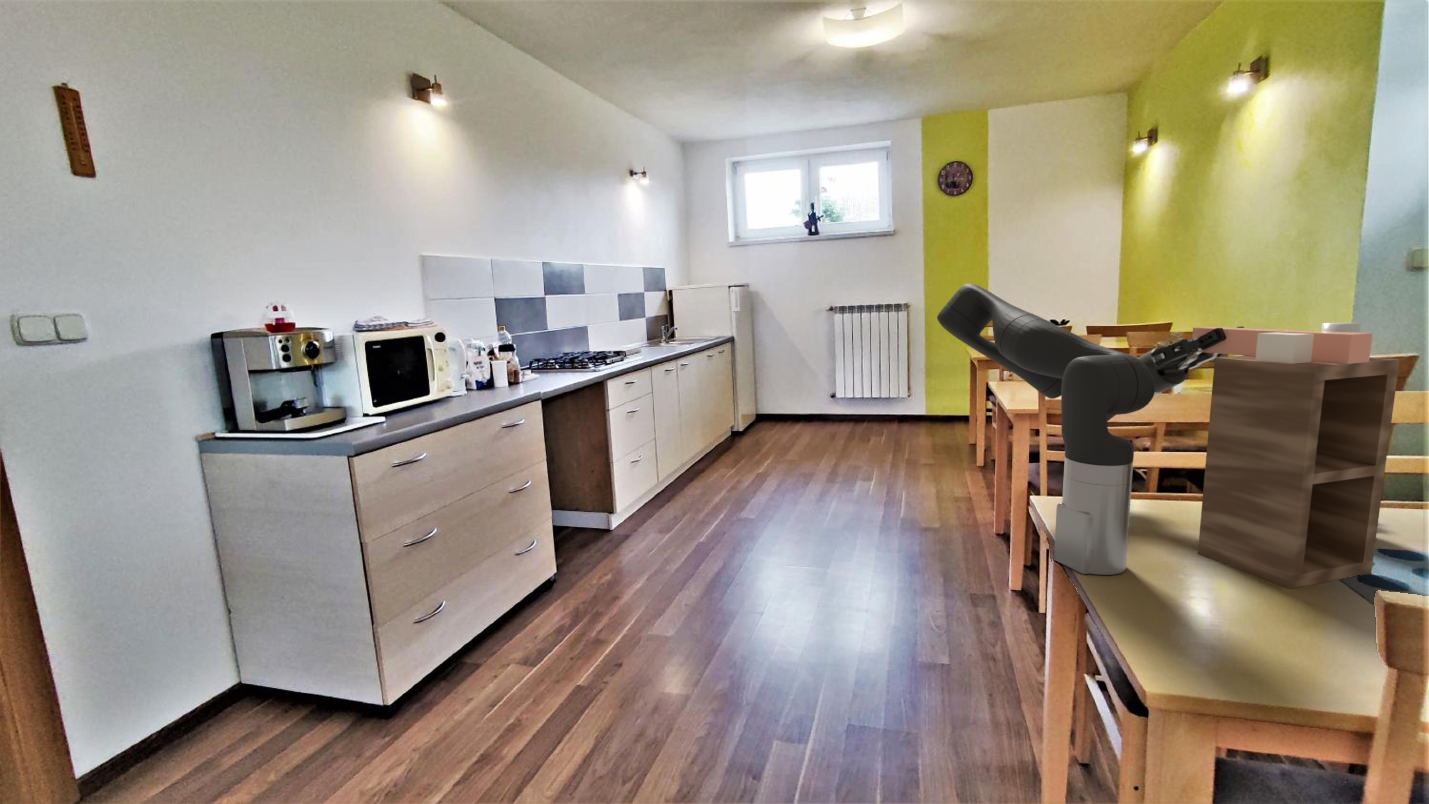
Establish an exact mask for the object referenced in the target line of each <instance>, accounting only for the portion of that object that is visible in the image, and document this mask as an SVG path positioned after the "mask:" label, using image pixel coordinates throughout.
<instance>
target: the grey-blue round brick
mask: <svg viewBox="0 0 1429 804" xmlns="http://www.w3.org/2000/svg"><path fill="white" fill-rule="evenodd" d="M1361 326H1362V323H1361V322H1322V323H1321V330H1320V331H1329V332H1354V333H1361Z"/></svg>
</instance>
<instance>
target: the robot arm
mask: <svg viewBox="0 0 1429 804" xmlns="http://www.w3.org/2000/svg"><path fill="white" fill-rule="evenodd" d="M936 317H937V318H936V319H937V321H938V323H939V324H940V326H941V327H942V328H943V329H944V330H945V331H946V332H948V333H949V334H950V335H952V336H953V337H955V338H956V339H958V340H959V341H960V342H962V343H964V344H965V345H966V346H969V347H970V348H971V349H973V350H975V351H976V352H978V353H980V354H981V355H983V356H984V357H986V358H988V359H989V360H991V361H993V362H995V363H996V364H997V365H999V366H1001V367H1004V368H1005V369H1007V370H1008V371H1010V372H1012V373H1013V374H1015V376H1017V377H1019V378H1020V379H1022V380H1023V381H1024V382H1026V383H1027V384H1029V386H1031V387H1032V388H1034V389H1035V390H1036V391H1037V392H1039V393H1040V394H1042V395H1043V396H1044V397H1046V398H1048V399H1053V400H1054V399H1058V398H1060V397H1061V398H1060V401H1061V403H1060V405H1061V407H1060V408H1061V436H1062V441H1063V444H1064V467H1063V483H1062V484H1063V485H1062V502H1059V503H1057V505H1056V513H1055V514H1056V515H1055V536H1054V552H1053V553H1054V554H1053V558H1054V559H1053V560H1054V561H1055V562H1058V563H1060V564H1062V565H1063V566H1066V567H1068V568H1070V569H1072V570H1074V571H1075V572H1077V573H1079V574H1081V575H1086V574H1091V575H1092V574H1093V575H1102V576H1103V575H1105V576H1109V575H1111V576H1112V575H1118V574H1121V573H1124V572H1125V571H1126V569H1127V555H1128V543H1129V542H1128V541H1129V526H1130V513H1131V512H1130V510H1131V498H1132V497H1131V496H1132V481H1133V468H1134V458H1135V457H1134V456H1135V447H1134V443H1132V442H1131V441H1130V440H1128V439H1126V438H1123V437H1121V436H1116V435H1114V434H1112V433H1111V432H1109V428H1108V422H1109V421H1111V419H1113V418H1114V417H1115V416H1119V415H1128V414H1131V413H1135V412H1139V411H1140V410H1142V409H1144V408H1145V407H1146V406H1148V405H1149V404H1150V403H1151V401H1152V400H1153V398H1154V397H1155V396H1156V395H1158V394H1161V393H1163V392H1165V391H1167V390H1169V389H1172V388H1174V387H1175V386H1178V385H1180V384H1182V383H1184V381H1185V380H1186V378H1187V377H1188V374H1189V370H1192V369H1195V368H1198V367H1200V366H1201V365H1202V364H1203V363H1206V362H1209V363H1210V364H1214V363H1215V358H1218V357H1227V356H1228V354H1219V353H1207V352H1203V351H1204V349H1208V348H1210V347H1212V346H1214V345H1216V344H1218V343H1220V342H1222V341H1224V340H1225V339H1226V335H1225V333H1224V331H1223V328H1216V329H1214V330H1212V331H1210V332H1208V333H1206V334H1204V335H1202V336H1200V337H1194V338H1191V339H1189V340H1188V338H1185V339H1181V340H1179V341H1177V342H1174V343H1172V344H1170V345H1167V346H1157V347H1155V348H1153V349H1151V350H1149V351H1146V353H1143V354H1142V355H1140V356H1139V357H1136V356H1133V355H1132V354H1129V353H1125V352H1123V351H1118V350H1116V349H1113V348H1109V347H1106V346H1103V345H1099V344H1097V343H1095V342H1091V341H1090V340H1087V339H1085V338H1083V337H1081V336H1080V335H1077V334H1075V333H1073V332H1071V331H1070V330H1067V329H1065V328H1062V327H1061V326H1059V325H1056V324H1055V323H1053V322H1051V321H1050V320H1047V319H1045V318H1043V317H1041V316H1040V315H1036V314H1034V313H1032V312H1030V311H1029V312H1028V311H1027V310H1024V309H1022V308H1020V307H1017V306H1015V305H1013V304H1011V303H1009V302H1007V301H1006V300H1005V299H1002V298H1000V297H999V296H997V295H995V294H994V293H992V292H990V291H989V290H988V289H986V288H984V287H982V286H980V285H977V284H975V283H965V284H963V285H962V286H960V287H959V288H958V289H957V291H956V292H955V293H954V294H953V295H952V296H951V298H950V299H949V300H948V301H947V303H946V304H945V305H943V307H942V309H940V311H939V313H938V314H937V316H936ZM991 321H992V333H993V341H991V340H989V339H986V338H985V337H983V336H981V333H982V332H983V330H985V328H986V327H987V326H988V325H989V323H991ZM1235 328H1245V326H1241V325H1240V326H1237V327H1235Z"/></svg>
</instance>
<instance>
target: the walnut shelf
mask: <svg viewBox="0 0 1429 804" xmlns="http://www.w3.org/2000/svg"><path fill="white" fill-rule="evenodd" d="M1255 358H1256V356H1244V355H1232V356H1224V357H1218V358H1215V362H1214V363H1213V376H1212V377H1213V378H1212V388H1211V399H1210V407H1209V408H1210V411H1209V421H1208V430H1207V432H1208V434H1207V443H1206V456H1205V467H1204V477H1203V480H1204V481H1203V488H1202V489H1203V490H1202V498H1201V499H1202V502H1201V512H1200V513H1201V514H1200V525H1199V536H1198V537H1199V538H1198V546H1197V554H1200V555H1202V556H1205V557H1207V558H1209V559H1212V560H1215V561H1217V562H1220V563H1223V564H1225V565H1227V566H1230V567H1233V568H1236V569H1237V570H1238V569H1239V570H1241V571H1244V572H1246V573H1249V574H1252V575H1254V576H1256V577H1259V578H1262V579H1265V580H1267V581H1269V582H1272V583H1275V584H1276V585H1280V586H1282V587H1286V588H1288V589H1289V590H1290V589H1296V588H1300V587H1301V588H1302V587H1306V586H1312V585H1317V584H1322V583H1326V582H1327V583H1328V582H1331V581H1332V582H1334V581H1338V580H1343V578H1344V579H1348V578H1347V577H1349V578H1352V577H1351V576H1355V577H1358V576H1357V575H1360V576H1365V575H1369V574H1372V571H1373V562H1374V555H1375V550H1376V549H1375V547H1376V541H1377V534H1378V525H1379V520H1380V519H1379V518H1380V510H1381V502H1382V496H1383V495H1382V494H1383V490H1384V489H1383V486H1384V480H1385V472H1386V463H1387V457H1388V450H1389V443H1390V442H1389V441H1390V437H1391V436H1390V435H1391V434H1390V433H1391V427H1392V419H1393V411H1394V405H1395V397H1396V388H1397V383H1398V382H1397V381H1398V374H1399V367H1400V359H1397V358H1382V357H1381V358H1380V357H1370V358H1369V362H1364V363H1352V364H1344V363H1332V362H1319V361H1311V362H1307V363H1294V364H1290V363H1278V362H1267V361H1255Z"/></svg>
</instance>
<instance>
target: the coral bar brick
mask: <svg viewBox="0 0 1429 804" xmlns="http://www.w3.org/2000/svg"><path fill="white" fill-rule="evenodd" d="M1216 328H1223V331H1224V333H1225V335H1226V339H1225V340H1224V341H1222V342H1220V343H1218V344H1216V345H1214V346H1212V347H1210V348H1208V349H1204V351H1203V352H1207V353H1219V354H1227V355H1232V356H1256V348H1257V338H1258V333H1273V332H1282V333H1304V334H1314V339H1313V348H1312V357H1311V361H1319V362H1332V363H1344V364H1352V363H1364V362H1369V358H1371V356H1370V355H1371V350H1372V348H1371V347H1372V340H1373V332H1360V333H1354V332H1329V331H1321V330H1305V329H1304V330H1298V329H1278V328H1277V329H1276V328H1274V329H1273V328H1254V327H1253V328H1252V327H1251V328H1250V327H1244V328H1236V327H1229V326H1228V327H1227V326H1201V327H1200V326H1199V327H1192V336H1191V337H1192V338H1194V337H1200V336H1202V335H1204V334H1206V333H1208V332H1210V331H1212V330H1214V329H1216ZM1192 338H1191V339H1192Z"/></svg>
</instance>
